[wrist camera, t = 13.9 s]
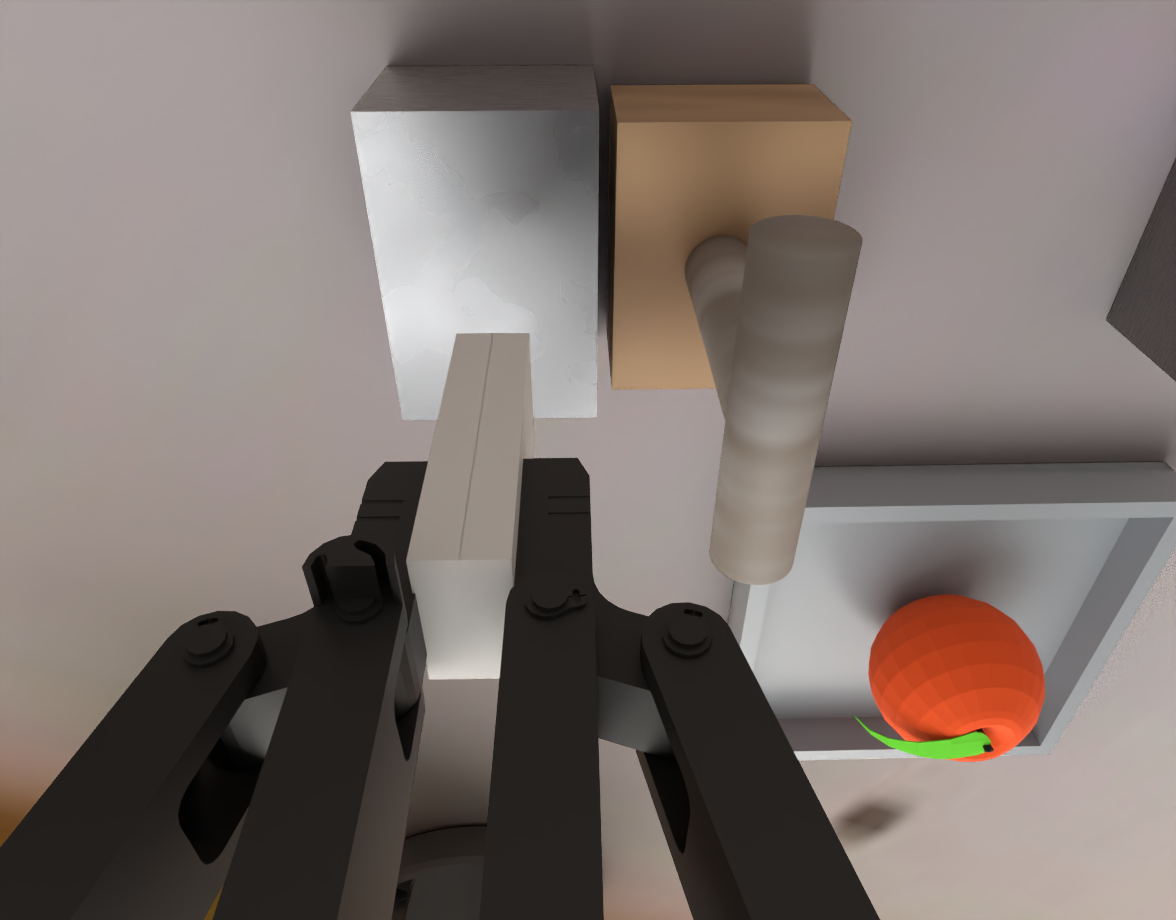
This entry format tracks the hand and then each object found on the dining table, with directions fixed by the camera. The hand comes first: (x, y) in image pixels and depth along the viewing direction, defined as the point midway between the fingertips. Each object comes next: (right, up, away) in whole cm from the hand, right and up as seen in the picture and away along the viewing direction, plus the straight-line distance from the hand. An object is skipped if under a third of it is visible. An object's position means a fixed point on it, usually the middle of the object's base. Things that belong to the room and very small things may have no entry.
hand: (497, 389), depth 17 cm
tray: (+17, -8, +21) cm, 28 cm away
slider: (+6, +6, +9) cm, 12 cm away
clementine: (+17, -9, +20) cm, 28 cm away
